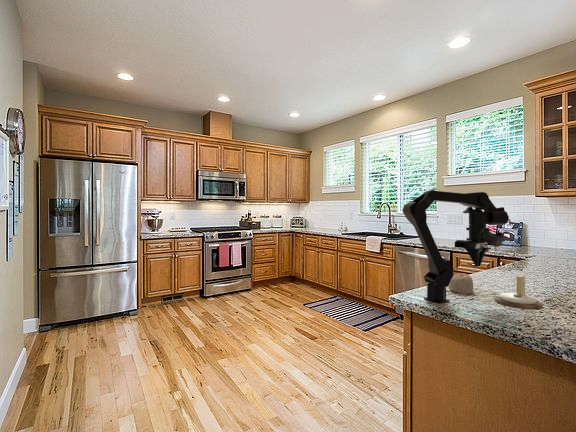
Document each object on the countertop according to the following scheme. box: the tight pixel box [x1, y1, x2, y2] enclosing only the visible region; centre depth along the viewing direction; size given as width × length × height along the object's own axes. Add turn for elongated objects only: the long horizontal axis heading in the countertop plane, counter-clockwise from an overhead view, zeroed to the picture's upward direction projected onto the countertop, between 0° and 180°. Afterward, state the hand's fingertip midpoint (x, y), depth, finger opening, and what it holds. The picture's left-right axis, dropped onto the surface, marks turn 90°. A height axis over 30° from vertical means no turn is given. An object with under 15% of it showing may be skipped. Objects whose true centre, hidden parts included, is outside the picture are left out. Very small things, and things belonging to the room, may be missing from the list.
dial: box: [498, 274, 538, 304], centre depth 112 cm, size 11×12×8 cm
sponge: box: [448, 273, 474, 294], centre depth 131 cm, size 9×10×10 cm
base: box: [494, 295, 543, 310], centre depth 112 cm, size 14×14×1 cm
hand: (477, 265), depth 117 cm, fingers closed
